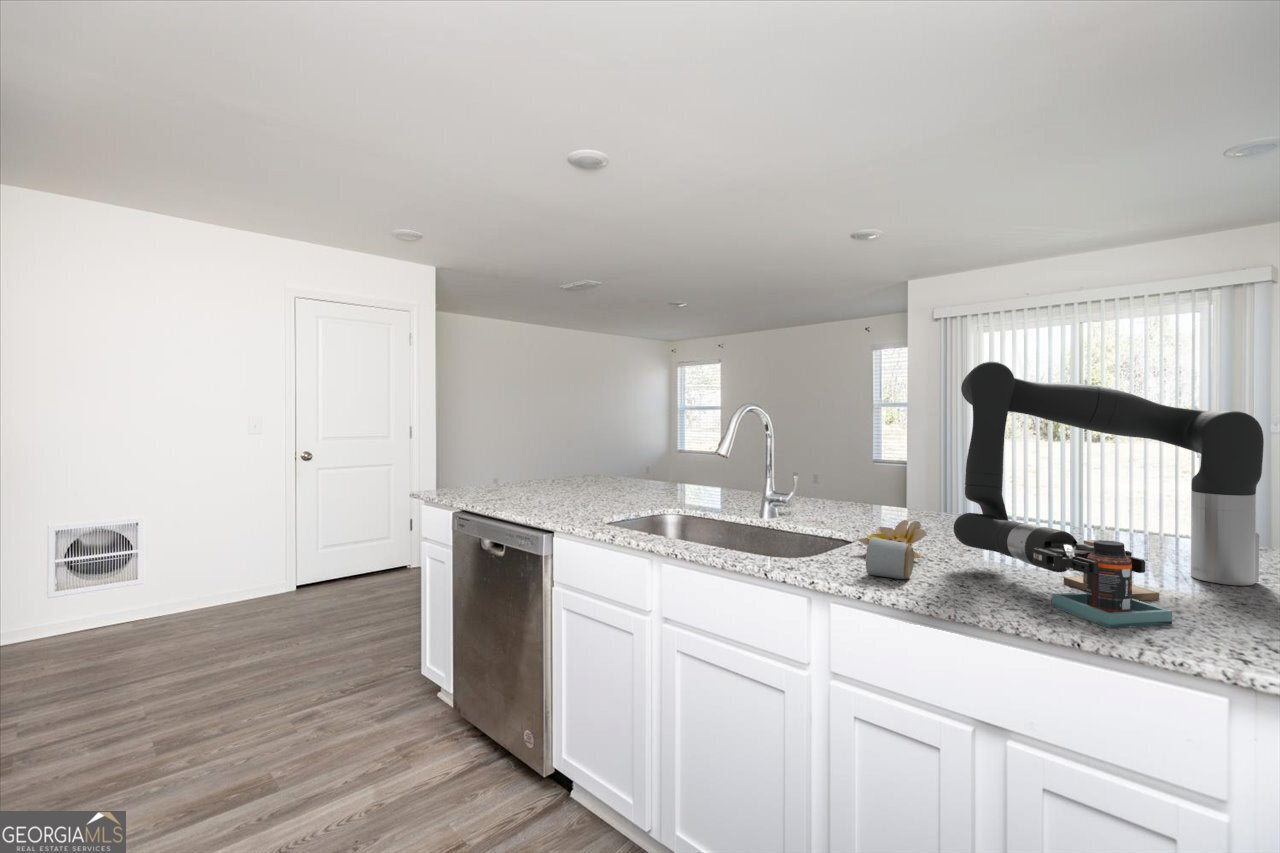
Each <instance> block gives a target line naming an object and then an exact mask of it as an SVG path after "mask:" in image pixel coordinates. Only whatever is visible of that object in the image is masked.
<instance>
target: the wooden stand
mask: <svg viewBox="0 0 1280 853" xmlns="http://www.w3.org/2000/svg"><path fill="white" fill-rule="evenodd" d="M1097 540H1098V539H1091V540H1090V539H1088V540H1086V539H1083V544H1087V545H1089V546H1094V541H1097ZM1082 575H1083V576H1081V575H1080V576H1079V575H1078V576H1063V584H1064V583H1065V584H1064V585H1067V584H1068V586H1070V585H1071V587H1073V586H1074V587H1073V588H1076V587H1077V589H1079V588H1080V590H1082V589H1084V590H1083V591H1085V590H1087V574H1086V573H1083V572H1082ZM1132 598H1133V599H1136V600H1140V601H1155V600H1154V599H1159V600H1160V592H1158V591H1154V590H1151V589H1148V588H1145V587H1142V586H1141V587H1140V586H1138V585H1134V584H1132Z"/></svg>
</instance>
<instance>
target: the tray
mask: <svg viewBox="0 0 1280 853" xmlns="http://www.w3.org/2000/svg"><path fill="white" fill-rule="evenodd" d="M1052 606H1053V607H1052ZM1051 607H1052V608H1055V609H1058V610H1061V611H1064V612H1066V613H1069V614H1071V615H1074V616H1076V617H1078V616H1079V618H1081V617H1082V618H1081V619H1083V620H1086V619H1087V621H1089V620H1090V622H1091V621H1093V622H1092V623H1094V622H1095V623H1094V624H1097V623H1098V624H1097V625H1099V624H1100V625H1099V626H1102V627H1105V628H1107V629H1116V628H1117V629H1120V628H1119V627H1123V628H1130V627H1129V626H1139V627H1152V626H1153V625H1155V626H1169V625H1168V624H1171V625H1173V610H1170V609H1167V608H1164V607H1161V606H1158V605H1155V604H1152V603H1147V602H1145V601H1143V600H1140V601H1139V600H1136V599H1133V598H1132V611H1131V612H1115V613H1108V612H1106V611H1103V610H1100V609H1097V608H1094V607H1092V606H1089V605H1087V591H1085V592H1069V593H1065V592H1064V593H1052V594H1051ZM1153 627H1154V626H1153Z"/></svg>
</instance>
